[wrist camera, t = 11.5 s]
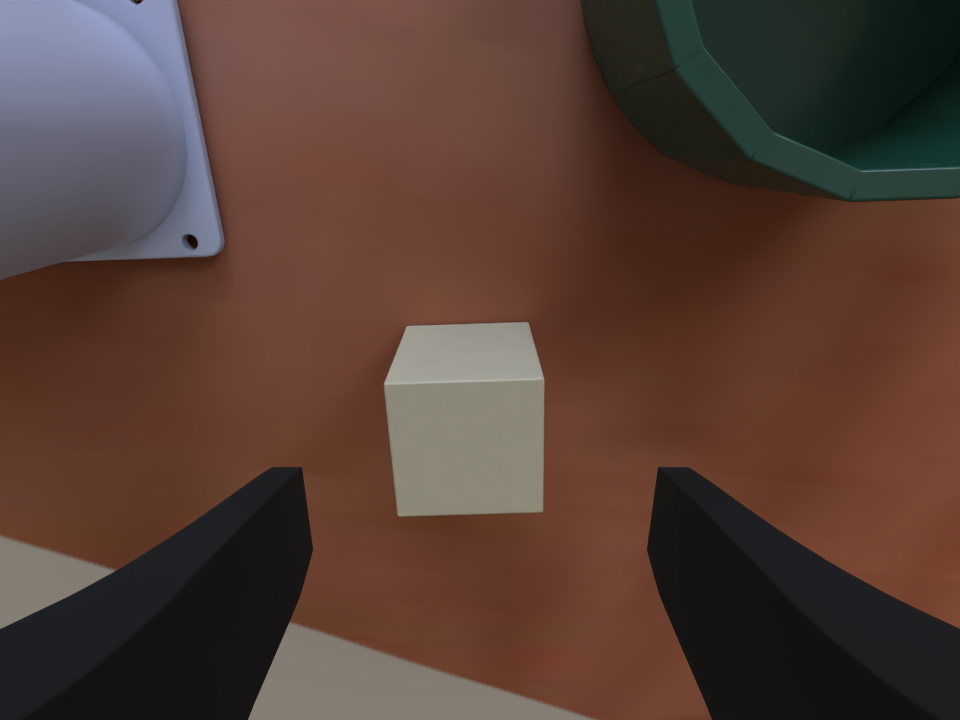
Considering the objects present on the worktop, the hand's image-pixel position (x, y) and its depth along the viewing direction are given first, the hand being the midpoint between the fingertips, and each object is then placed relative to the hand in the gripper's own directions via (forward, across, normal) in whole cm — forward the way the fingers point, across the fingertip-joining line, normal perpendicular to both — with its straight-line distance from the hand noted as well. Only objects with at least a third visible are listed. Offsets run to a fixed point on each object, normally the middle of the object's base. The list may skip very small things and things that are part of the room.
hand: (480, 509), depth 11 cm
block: (+10, 0, +1) cm, 10 cm away
